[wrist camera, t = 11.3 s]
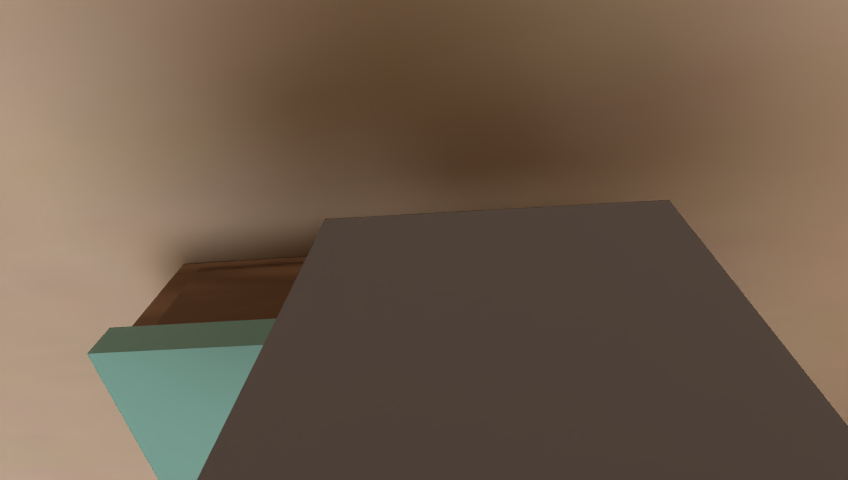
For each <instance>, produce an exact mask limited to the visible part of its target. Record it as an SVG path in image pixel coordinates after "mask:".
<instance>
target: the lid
mask: <svg viewBox="0 0 848 480" xmlns="http://www.w3.org/2000/svg"><path fill="white" fill-rule="evenodd" d="M275 320H276V319H259V320H240V321H222V322H204V323H186V324H168V325H150V326H132V327H114V328H109V329H108V330H107V332H106V333H105V334H104V335H103V336H102V337H101V338H100V340H99V341H98V342H97V343H96V344H95V345H94V346H93V348H92V349H91V350H90V351H89V352H88V353H87V354H88V356H89V358H90V360H91V362H92V363H93V365H94V367H95V369H96V370H97V372H98V374H99V376H100V377H101V379H102V381H103V383H104V384H105V386H106V388H107V390H108V392H109V393H110V395H111V397H112V399H113V400H114V402H115V404H116V406H117V407H118V409H119V411H120V413H121V414H122V416H123V418H124V420H125V422H126V423H127V425H128V427H129V429H130V430H131V432H132V434H133V436H134V437H135V439H136V441H137V443H138V444H139V446H140V448H141V450H142V452H143V453H144V455H145V457H146V459H147V460H148V462H149V464H150V466H151V467H152V469H153V471H154V473H155V475H156V476H157V478H158V480H197V478H198V476H199V474H200V472H201V470H202V468H203V466H204V464H205V462H206V460H207V458H208V456H209V454H210V452H211V450H212V448H213V446H214V444H215V442H216V440H217V438H218V436H219V434H220V432H221V430H222V428H223V426H224V424H225V422H226V420H227V418H228V416H229V414H230V412H231V410H232V408H233V405H234V403H235V401H236V399H237V397H238V395H239V393H240V391H241V389H242V387H243V385H244V383H245V381H246V379H247V377H248V375H249V373H250V371H251V369H252V367H253V365H254V363H255V361H256V359H257V357H258V355H259V353H260V351H261V349H262V347H263V345H264V343H265V341H266V339H267V337H268V335H269V333H270V331H271V329H272V327H273V324H274V322H275Z"/></svg>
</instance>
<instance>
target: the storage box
mask: <svg viewBox="0 0 848 480" xmlns="http://www.w3.org/2000/svg"><path fill="white" fill-rule="evenodd" d="M306 258H307V257H291V258H275V259H259V260H243V261H227V262H211V263H195V264H183V266H182V267H181V268H180V269H179V270H178V272H177V273H176V274H175V275H174V276H173V278H172V279H171V280H170V281H169V282H168V284H167V285H166V286H165V287H164V288H163V290H162V291H161V292H160V293H159V294H158V296H157V297H156V298H155V299H154V300H153V302H152V303H151V304H150V305H149V307H148V308H147V309H146V310H145V311H144V313H143V314H142V315H141V316H140V317H139V319H138V320H137V321H136V322H135V323H134V325H133V326H150V325H168V324H186V323H204V322H222V321H240V320H259V319H276V318H277V316H278V314H279V312H280V310H281V308H282V306H283V304H284V302H285V300H286V298H287V296H288V294H289V292H290V290H291V288H292V286H293V284H294V282H295V280H296V278H297V276H298V274H299V272H300V270H301V268H302V266H303V264H304V262H305V260H306Z"/></svg>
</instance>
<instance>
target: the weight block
mask: <svg viewBox="0 0 848 480" xmlns="http://www.w3.org/2000/svg"><path fill="white" fill-rule="evenodd" d="M197 480H848V426H847V425H846V423H845V422H844V421H843V419H842V418H841V417H840V416H839V414H838V413H837V412H836V411H835V409H834V408H833V407H832V406H831V404H830V403H829V402H828V401H827V399H826V398H825V397H824V395H823V394H822V393H821V392H820V390H819V389H818V388H817V387H816V385H815V384H814V383H813V382H812V380H811V379H810V378H809V377H808V375H807V374H806V373H805V371H804V370H803V369H802V368H801V366H800V365H799V364H798V363H797V361H796V360H795V359H794V358H793V356H792V355H791V354H790V352H789V351H788V350H787V349H786V347H785V346H784V345H783V344H782V342H781V341H780V340H779V339H778V337H777V336H776V335H775V334H774V332H773V331H772V330H771V328H770V327H769V326H768V325H767V323H766V322H765V321H764V320H763V318H762V317H761V316H760V315H759V313H758V312H757V311H756V310H755V308H754V307H753V306H752V304H751V303H750V302H749V301H748V299H747V298H746V297H745V296H744V294H743V293H742V292H741V291H740V289H739V288H738V287H737V286H736V284H735V283H734V282H733V280H732V279H731V278H730V277H729V275H728V274H727V273H726V272H725V270H724V269H723V268H722V267H721V265H720V264H719V263H718V262H717V260H716V259H715V258H714V256H713V255H712V254H711V253H710V251H709V250H708V249H707V248H706V246H705V245H704V244H703V243H702V241H701V240H700V239H699V237H698V236H697V235H696V234H695V232H694V231H693V230H692V229H691V227H690V226H689V225H688V224H687V222H686V221H685V220H684V219H683V217H682V216H681V215H680V213H679V212H678V211H677V210H676V208H675V207H674V206H673V205H672V203H671V202H670V201H669V200H659V201H641V202H623V203H605V204H587V205H569V206H551V207H533V208H515V209H497V210H479V211H461V212H443V213H425V214H407V215H389V216H371V217H353V218H335V219H325V221H324V223H323V225H322V227H321V229H320V231H319V233H318V235H317V237H316V239H315V241H314V243H313V245H312V248H311V250H310V252H309V254H308V256H307V258H306V260H305V262H304V264H303V266H302V268H301V270H300V272H299V274H298V276H297V278H296V280H295V282H294V284H293V286H292V288H291V290H290V292H289V294H288V296H287V298H286V300H285V302H284V304H283V306H282V308H281V310H280V312H279V314H278V316H277V318H276V320H275V322H274V324H273V327H272V329H271V331H270V333H269V335H268V337H267V339H266V341H265V343H264V345H263V347H262V349H261V351H260V353H259V355H258V357H257V359H256V361H255V363H254V365H253V367H252V369H251V371H250V373H249V375H248V377H247V379H246V381H245V383H244V385H243V387H242V389H241V391H240V393H239V395H238V397H237V399H236V401H235V403H234V405H233V408H232V410H231V412H230V414H229V416H228V418H227V420H226V422H225V424H224V426H223V428H222V430H221V432H220V434H219V436H218V438H217V440H216V442H215V444H214V446H213V448H212V450H211V452H210V454H209V456H208V458H207V460H206V462H205V464H204V466H203V468H202V470H201V472H200V474H199V476H198V478H197Z"/></svg>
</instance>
